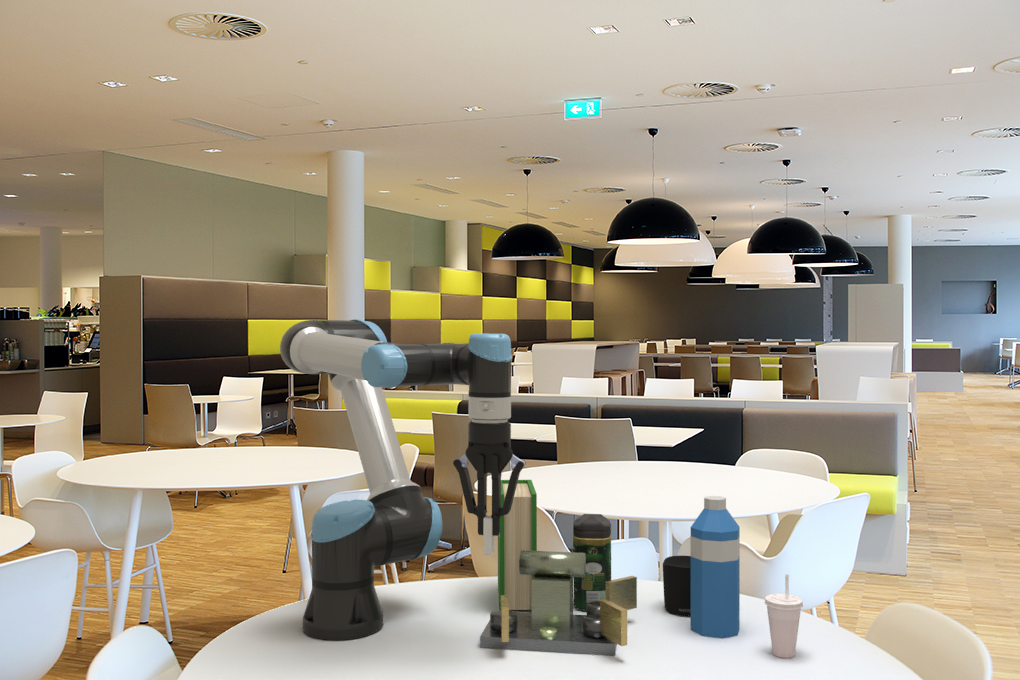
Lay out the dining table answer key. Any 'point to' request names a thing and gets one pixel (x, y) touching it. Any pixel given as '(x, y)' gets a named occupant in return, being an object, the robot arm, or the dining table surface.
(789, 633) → the smoothie
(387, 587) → the dining table surface
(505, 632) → the knob left
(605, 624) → the knob right
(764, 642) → the dining table surface
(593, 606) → the knob rear
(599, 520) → the coffee jar
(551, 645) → the base
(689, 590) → the black smart speaker
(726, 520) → the water bottle
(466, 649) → the dining table surface
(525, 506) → the hardback book
